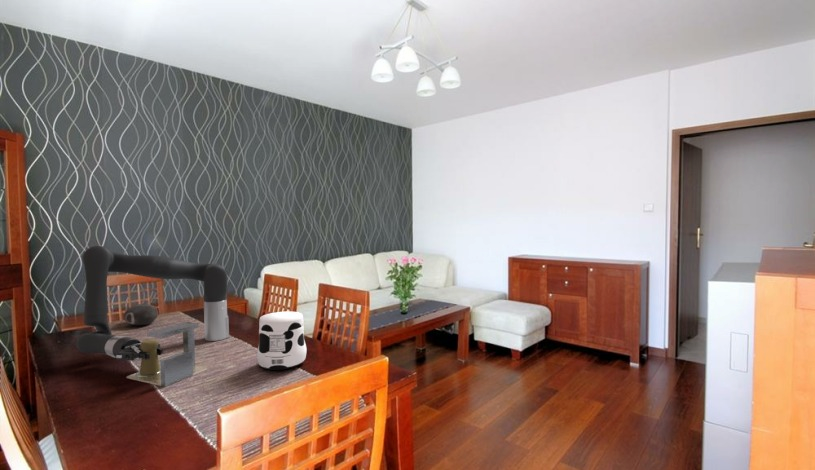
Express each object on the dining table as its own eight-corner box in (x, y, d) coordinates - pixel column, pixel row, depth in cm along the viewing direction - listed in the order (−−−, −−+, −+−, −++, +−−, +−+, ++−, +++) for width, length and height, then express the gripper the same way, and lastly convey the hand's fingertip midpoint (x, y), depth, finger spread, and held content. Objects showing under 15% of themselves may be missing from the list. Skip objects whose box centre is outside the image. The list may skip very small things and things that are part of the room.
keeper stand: (126, 377, 135) (124, 329, 134) (168, 362, 149) (167, 318, 149) (165, 387, 128) (163, 336, 127) (206, 369, 142) (205, 324, 141)
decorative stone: (122, 322, 206) (121, 303, 206) (155, 318, 215) (154, 299, 215) (125, 331, 191) (125, 310, 191) (160, 325, 200) (160, 305, 200)
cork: (150, 375, 134) (149, 343, 134) (135, 374, 135) (134, 342, 135) (164, 368, 140) (163, 338, 139) (150, 367, 141) (149, 336, 141)
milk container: (292, 353, 159) (291, 308, 158) (315, 364, 146) (314, 316, 145) (249, 364, 146) (248, 316, 146) (270, 378, 134) (269, 325, 133)
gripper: (100, 343, 136) (133, 349, 130) (142, 331, 149) (174, 337, 143) (101, 364, 137) (134, 372, 130) (143, 351, 150) (174, 357, 143)
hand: (155, 354), depth 136 cm, fingers closed on cork, 4 cm apart
